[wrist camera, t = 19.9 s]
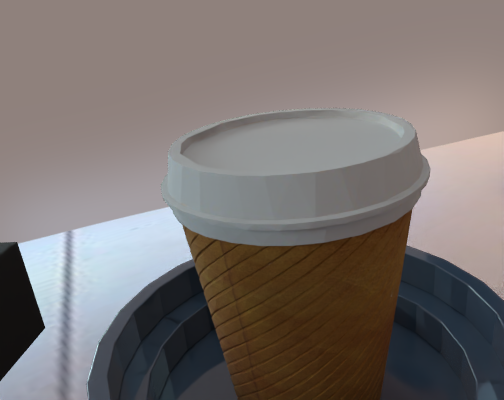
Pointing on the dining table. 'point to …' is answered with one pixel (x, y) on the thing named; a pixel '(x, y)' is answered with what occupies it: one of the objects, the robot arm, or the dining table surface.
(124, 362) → the bowl
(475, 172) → the dining table surface
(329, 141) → the disposable coffee cup
